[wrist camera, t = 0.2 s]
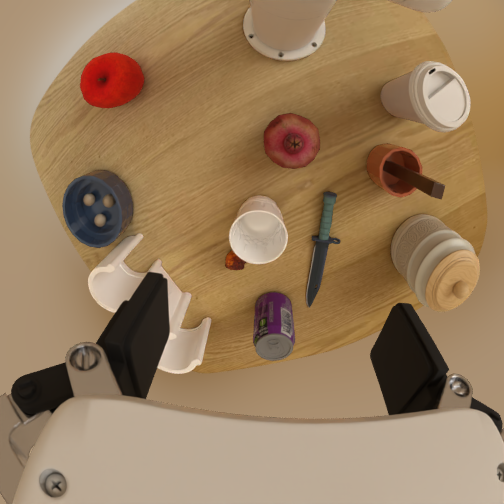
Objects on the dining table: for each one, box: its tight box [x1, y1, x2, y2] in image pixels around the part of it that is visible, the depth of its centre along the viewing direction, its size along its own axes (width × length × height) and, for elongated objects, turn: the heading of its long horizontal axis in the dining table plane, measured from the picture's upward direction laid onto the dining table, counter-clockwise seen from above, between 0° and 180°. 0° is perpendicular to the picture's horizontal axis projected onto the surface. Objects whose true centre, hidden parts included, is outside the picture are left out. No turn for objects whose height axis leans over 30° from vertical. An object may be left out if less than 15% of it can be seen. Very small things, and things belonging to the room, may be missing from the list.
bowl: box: [62, 170, 133, 248], centre depth 45 cm, size 13×13×5 cm
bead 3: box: [103, 194, 115, 208], centre depth 45 cm, size 2×2×2 cm
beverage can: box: [253, 292, 295, 361], centre depth 50 cm, size 7×7×12 cm
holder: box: [367, 143, 422, 197], centre depth 39 cm, size 8×8×6 cm
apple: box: [80, 53, 144, 108], centre depth 33 cm, size 9×9×11 cm
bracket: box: [88, 233, 211, 374], centre depth 49 cm, size 25×10×12 cm, turn 30°
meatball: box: [225, 250, 246, 270], centre depth 49 cm, size 4×4×4 cm
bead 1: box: [83, 193, 95, 206], centre depth 45 cm, size 2×2×2 cm
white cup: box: [229, 195, 288, 264], centre depth 43 cm, size 8×8×10 cm
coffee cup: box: [381, 61, 470, 132], centre depth 30 cm, size 10×10×15 cm
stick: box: [383, 160, 445, 199], centre depth 34 cm, size 2×2×16 cm
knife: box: [306, 192, 340, 308], centre depth 49 cm, size 23×2×5 cm
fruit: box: [264, 113, 320, 169], centre depth 37 cm, size 8×8×10 cm
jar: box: [391, 214, 480, 312], centre depth 40 cm, size 13×13×18 cm
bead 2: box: [94, 214, 106, 227], centre depth 47 cm, size 2×2×2 cm
